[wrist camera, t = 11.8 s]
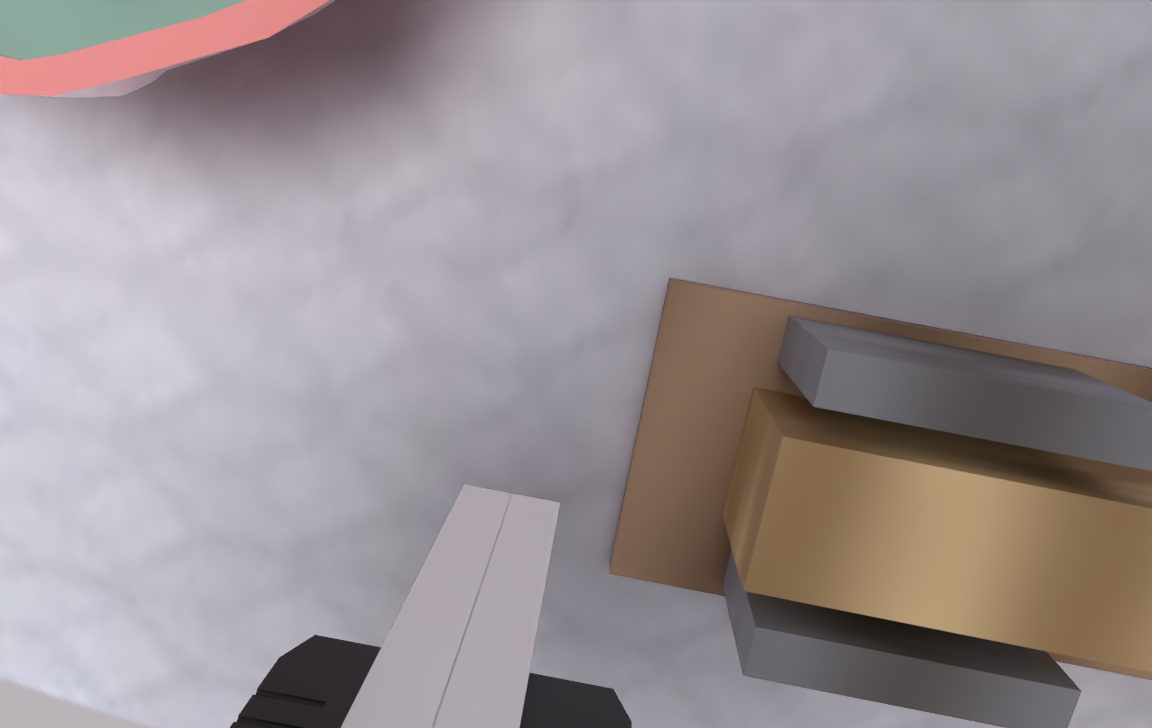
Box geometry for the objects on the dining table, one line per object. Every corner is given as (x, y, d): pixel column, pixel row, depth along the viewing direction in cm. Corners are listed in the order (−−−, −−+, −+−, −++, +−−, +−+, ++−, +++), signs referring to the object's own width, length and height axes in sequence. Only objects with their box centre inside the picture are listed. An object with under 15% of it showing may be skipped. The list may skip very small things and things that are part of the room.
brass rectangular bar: (1312, 495, 20) (1479, 572, 16) (1258, 620, 21) (1405, 722, 17) (753, 387, 20) (782, 436, 16) (722, 514, 21) (743, 590, 17)
